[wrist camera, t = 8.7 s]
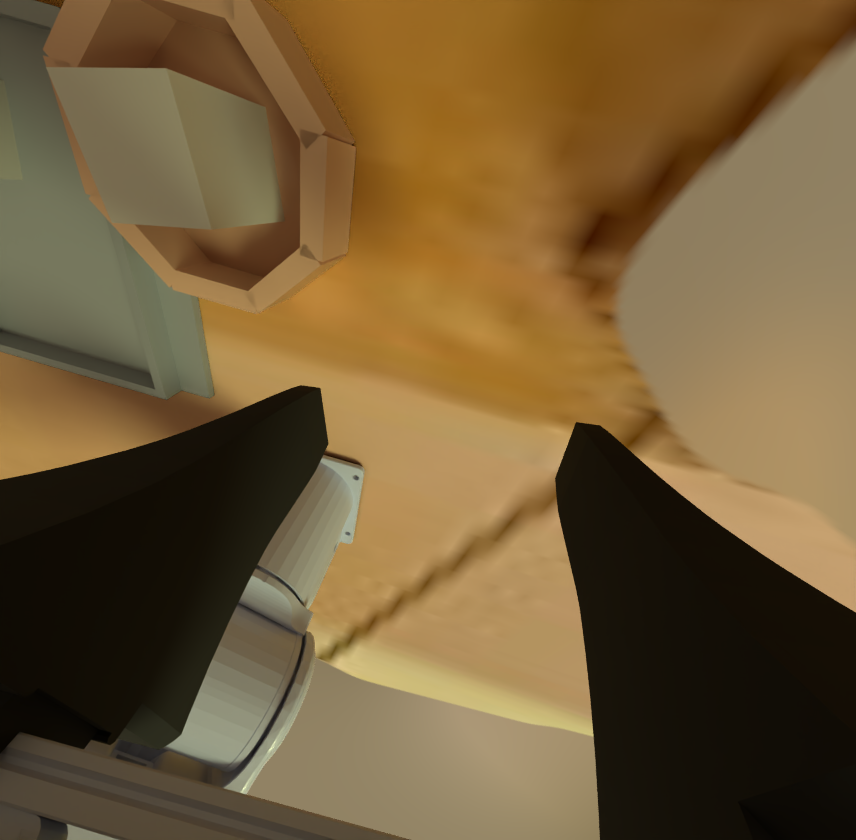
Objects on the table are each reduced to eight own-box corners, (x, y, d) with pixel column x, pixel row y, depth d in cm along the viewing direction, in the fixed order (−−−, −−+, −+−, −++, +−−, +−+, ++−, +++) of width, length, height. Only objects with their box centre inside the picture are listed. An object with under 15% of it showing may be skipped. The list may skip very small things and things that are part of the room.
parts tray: (214, 395, 23) (195, 408, 22) (-20, 326, 23) (-55, 335, 22) (153, 41, 13) (111, 22, 12) (-250, -74, 14) (-340, -107, 12)
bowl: (342, 314, 19) (319, 332, 16) (160, 261, 19) (109, 271, 16) (364, 39, 12) (332, 0, 10) (94, -38, 13) (-4, -95, 10)
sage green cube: (285, 221, 16) (211, 229, 12) (208, 216, 16) (111, 222, 12) (265, 107, 14) (166, 68, 9) (177, 105, 14) (45, 67, 10)
